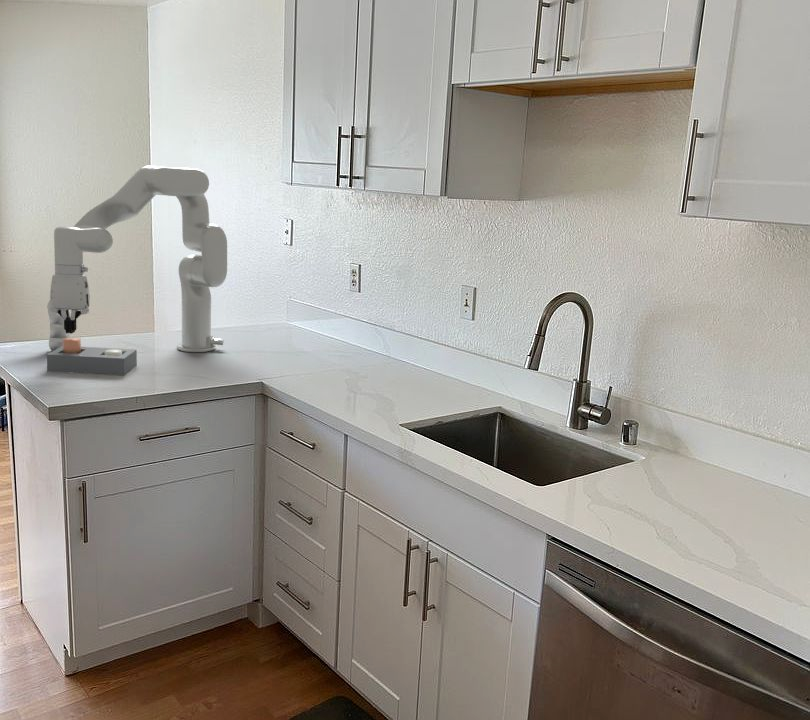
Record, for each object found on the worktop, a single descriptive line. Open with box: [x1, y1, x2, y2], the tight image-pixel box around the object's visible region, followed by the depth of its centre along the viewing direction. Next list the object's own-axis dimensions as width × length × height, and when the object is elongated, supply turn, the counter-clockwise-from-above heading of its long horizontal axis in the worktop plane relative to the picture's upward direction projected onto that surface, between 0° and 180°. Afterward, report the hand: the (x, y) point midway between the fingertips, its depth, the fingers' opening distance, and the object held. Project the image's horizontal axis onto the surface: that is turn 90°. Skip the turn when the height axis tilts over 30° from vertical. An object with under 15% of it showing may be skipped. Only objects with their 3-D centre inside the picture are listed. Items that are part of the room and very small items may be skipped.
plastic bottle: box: [46, 300, 71, 352], centre depth 250 cm, size 6×7×20 cm
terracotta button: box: [63, 337, 82, 354], centre depth 233 cm, size 5×5×5 cm
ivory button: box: [105, 350, 122, 356], centre depth 234 cm, size 5×5×5 cm
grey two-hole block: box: [46, 346, 138, 376], centre depth 234 cm, size 22×12×5 cm, turn 92°
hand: (70, 332), depth 232 cm, fingers closed
